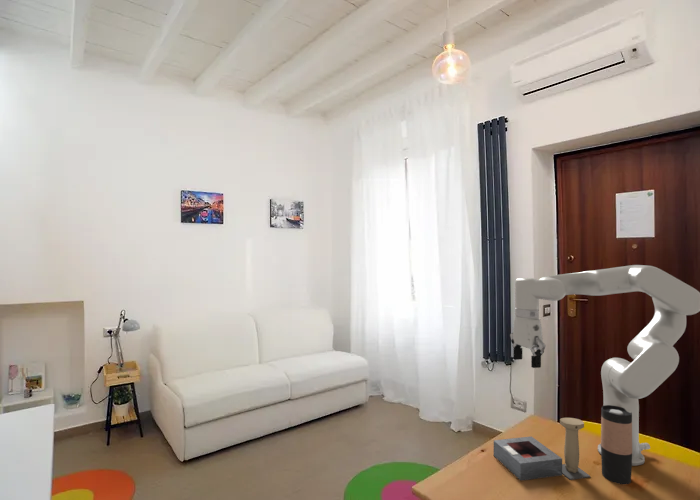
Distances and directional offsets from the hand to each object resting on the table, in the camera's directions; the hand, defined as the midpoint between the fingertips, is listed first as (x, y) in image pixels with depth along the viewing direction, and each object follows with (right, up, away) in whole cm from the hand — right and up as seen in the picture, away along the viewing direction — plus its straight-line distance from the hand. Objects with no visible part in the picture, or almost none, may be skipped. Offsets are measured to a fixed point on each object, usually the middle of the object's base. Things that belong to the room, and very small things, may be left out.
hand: (526, 363), depth 133 cm
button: (-6, -28, -12) cm, 31 cm away
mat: (+6, -28, -16) cm, 33 cm away
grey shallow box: (-6, -28, -12) cm, 31 cm away
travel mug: (+18, -29, -19) cm, 39 cm away
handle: (+6, -28, -16) cm, 33 cm away
